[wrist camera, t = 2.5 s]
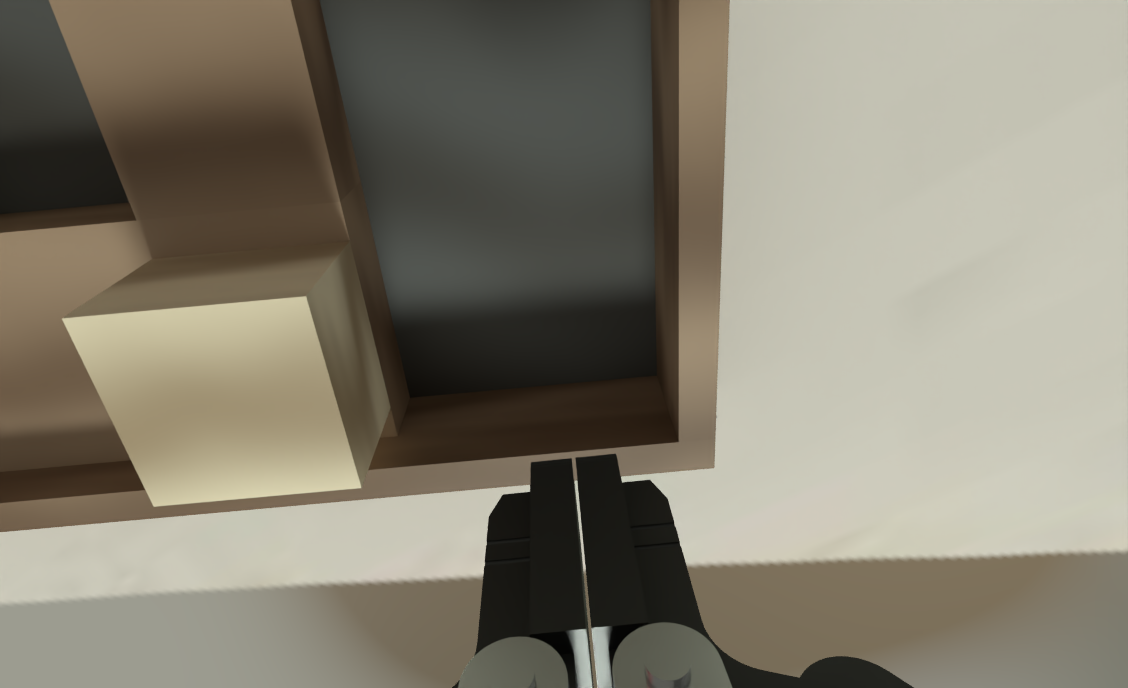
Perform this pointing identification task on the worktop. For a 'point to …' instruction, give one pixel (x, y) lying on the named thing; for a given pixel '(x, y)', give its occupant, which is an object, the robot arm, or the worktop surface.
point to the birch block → (238, 372)
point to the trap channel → (377, 220)
